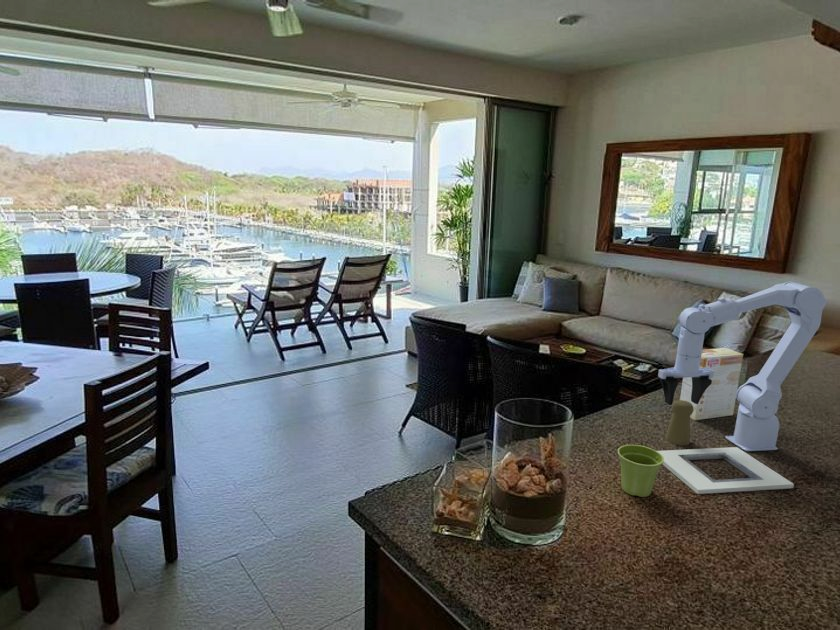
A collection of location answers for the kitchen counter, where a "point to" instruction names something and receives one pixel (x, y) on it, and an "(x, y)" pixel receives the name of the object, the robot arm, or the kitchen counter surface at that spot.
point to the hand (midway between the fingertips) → (681, 403)
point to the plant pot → (639, 469)
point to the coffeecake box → (716, 384)
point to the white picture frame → (704, 484)
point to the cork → (680, 423)
